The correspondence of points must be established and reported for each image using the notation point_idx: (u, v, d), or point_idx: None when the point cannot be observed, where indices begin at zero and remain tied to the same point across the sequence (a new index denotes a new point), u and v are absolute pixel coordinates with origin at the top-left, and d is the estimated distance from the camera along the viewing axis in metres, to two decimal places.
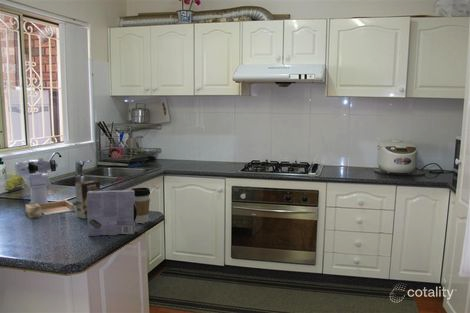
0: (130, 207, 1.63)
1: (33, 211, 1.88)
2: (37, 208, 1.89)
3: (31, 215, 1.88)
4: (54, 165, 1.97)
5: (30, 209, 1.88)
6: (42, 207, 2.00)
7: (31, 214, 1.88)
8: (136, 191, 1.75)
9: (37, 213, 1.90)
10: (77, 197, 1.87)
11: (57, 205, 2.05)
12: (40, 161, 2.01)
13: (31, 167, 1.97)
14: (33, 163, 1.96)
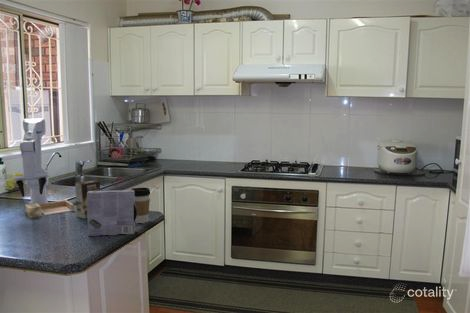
0: (130, 207, 1.63)
1: (33, 211, 1.88)
2: (37, 208, 1.89)
3: (31, 215, 1.88)
4: (41, 194, 1.94)
5: (30, 209, 1.88)
6: (42, 207, 2.00)
7: (31, 214, 1.88)
8: (136, 191, 1.75)
9: (37, 213, 1.90)
10: (77, 197, 1.87)
11: (57, 205, 2.05)
12: None
13: None
14: (22, 186, 1.87)
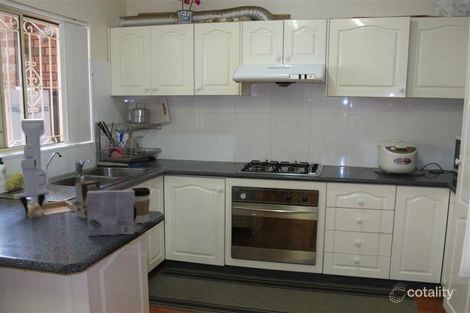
0: (130, 207, 1.63)
1: (33, 211, 1.88)
2: (37, 208, 1.89)
3: (31, 215, 1.88)
4: None
5: (30, 209, 1.88)
6: (42, 207, 2.00)
7: (31, 214, 1.88)
8: (136, 191, 1.75)
9: (37, 213, 1.90)
10: (77, 197, 1.87)
11: (57, 205, 2.05)
12: None
13: None
14: (26, 203, 1.88)
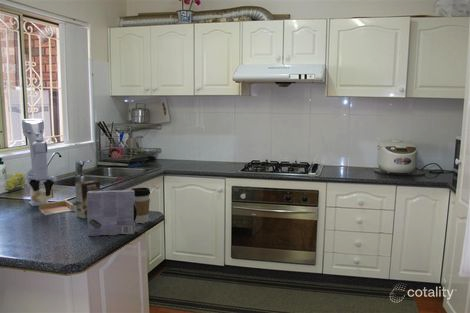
0: (130, 207, 1.63)
1: (35, 196, 1.91)
2: (38, 193, 1.90)
3: (33, 199, 1.91)
4: (47, 195, 1.94)
5: (32, 193, 1.91)
6: (42, 207, 2.00)
7: (33, 198, 1.91)
8: (136, 191, 1.75)
9: (38, 198, 1.91)
10: (77, 197, 1.87)
11: (57, 205, 2.05)
12: None
13: None
14: (33, 186, 1.93)
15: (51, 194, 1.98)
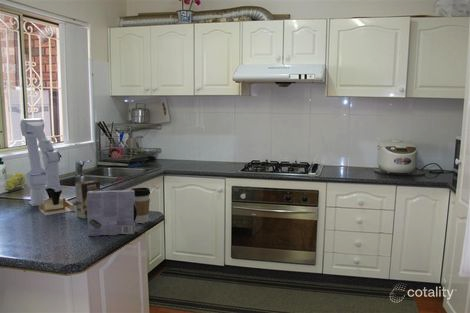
0: (130, 207, 1.63)
1: (44, 203, 1.97)
2: (44, 201, 1.96)
3: (43, 206, 1.98)
4: (55, 204, 1.97)
5: (43, 200, 1.98)
6: (42, 207, 2.00)
7: (43, 205, 1.98)
8: (136, 191, 1.75)
9: (45, 206, 1.96)
10: (77, 197, 1.87)
11: None
12: None
13: None
14: (47, 192, 2.00)
15: (62, 204, 1.99)
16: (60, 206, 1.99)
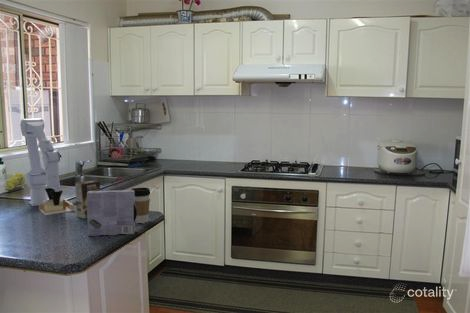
0: (130, 207, 1.63)
1: (43, 204, 1.97)
2: (44, 203, 1.96)
3: (43, 208, 1.98)
4: None
5: (43, 202, 1.98)
6: (42, 207, 2.00)
7: (43, 207, 1.98)
8: (136, 191, 1.75)
9: (45, 208, 1.96)
10: (77, 197, 1.87)
11: None
12: None
13: None
14: (47, 192, 2.01)
15: (62, 205, 1.99)
16: (60, 207, 1.99)
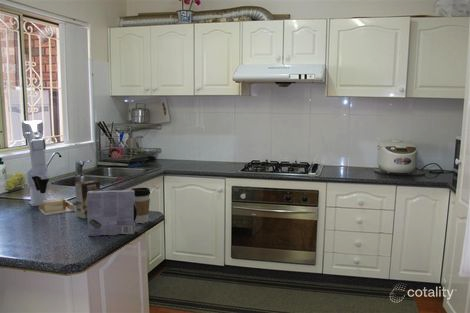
0: (130, 207, 1.63)
1: (43, 204, 1.97)
2: (44, 203, 1.96)
3: (43, 208, 1.98)
4: (42, 193, 1.95)
5: (43, 202, 1.98)
6: (42, 207, 2.00)
7: (43, 207, 1.98)
8: (136, 191, 1.75)
9: (45, 208, 1.96)
10: (77, 197, 1.87)
11: None
12: (34, 175, 1.96)
13: None
14: (33, 180, 2.00)
15: (62, 205, 1.99)
16: (60, 207, 1.99)
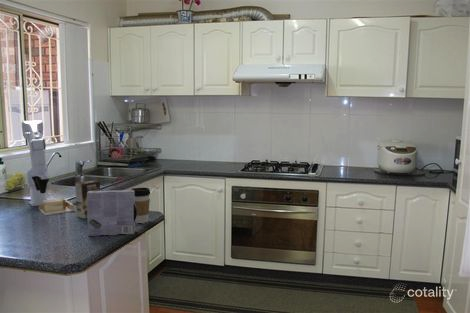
0: (130, 207, 1.63)
1: (43, 204, 1.97)
2: (44, 203, 1.96)
3: (43, 208, 1.98)
4: (42, 193, 1.95)
5: (43, 202, 1.98)
6: (42, 207, 2.00)
7: (43, 207, 1.98)
8: (136, 191, 1.75)
9: (45, 208, 1.96)
10: (77, 197, 1.87)
11: None
12: (34, 175, 1.96)
13: None
14: (33, 180, 2.00)
15: (62, 205, 1.99)
16: (60, 207, 1.99)
